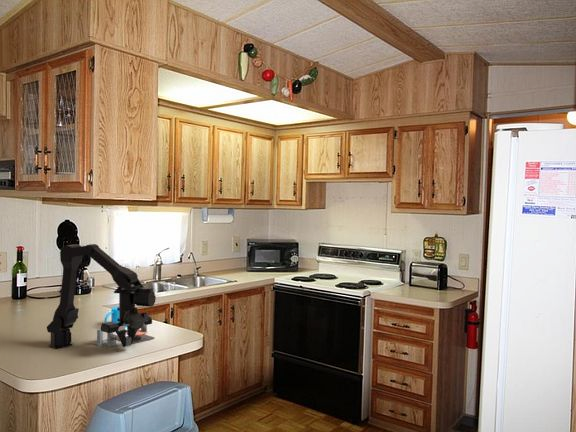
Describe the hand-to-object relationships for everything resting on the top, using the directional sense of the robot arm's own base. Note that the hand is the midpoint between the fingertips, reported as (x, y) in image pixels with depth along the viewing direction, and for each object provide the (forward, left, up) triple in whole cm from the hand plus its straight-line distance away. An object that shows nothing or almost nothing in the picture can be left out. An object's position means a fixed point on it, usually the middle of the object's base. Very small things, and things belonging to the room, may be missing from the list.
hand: (127, 346), depth 184 cm
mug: (+17, +34, -2) cm, 39 cm away
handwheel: (+12, +11, 0) cm, 16 cm away
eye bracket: (0, +14, -2) cm, 14 cm away
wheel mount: (+12, +11, -2) cm, 16 cm away
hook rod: (0, +6, 0) cm, 6 cm away
